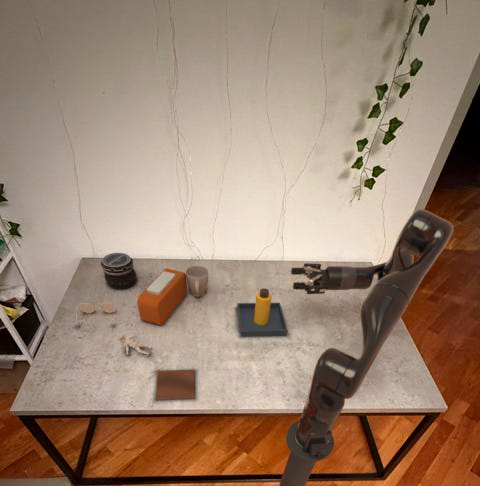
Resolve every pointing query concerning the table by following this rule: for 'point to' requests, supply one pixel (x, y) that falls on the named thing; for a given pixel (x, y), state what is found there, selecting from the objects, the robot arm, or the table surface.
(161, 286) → the orange box
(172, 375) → the board
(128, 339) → the soldier figure
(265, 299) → the yellow bottle
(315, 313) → the table surface
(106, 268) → the container
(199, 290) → the mug
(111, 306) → the sunglasses
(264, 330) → the tray
